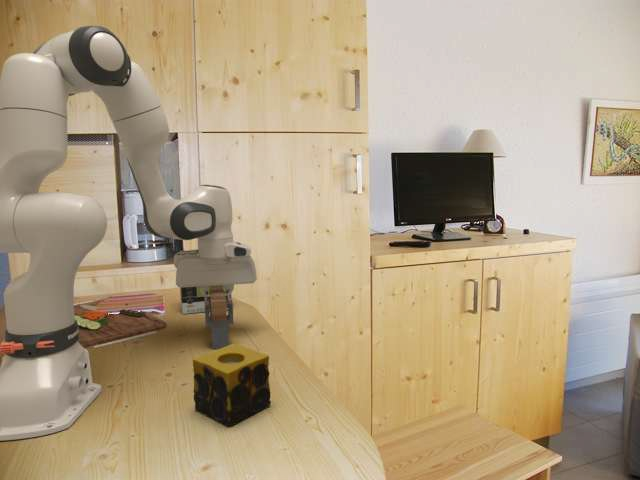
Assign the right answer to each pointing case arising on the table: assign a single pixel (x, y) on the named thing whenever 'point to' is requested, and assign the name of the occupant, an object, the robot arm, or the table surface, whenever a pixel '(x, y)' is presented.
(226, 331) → the bracket near
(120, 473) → the table surface
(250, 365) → the yellow and black cube
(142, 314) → the chopping board
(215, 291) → the rail
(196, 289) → the tea box
